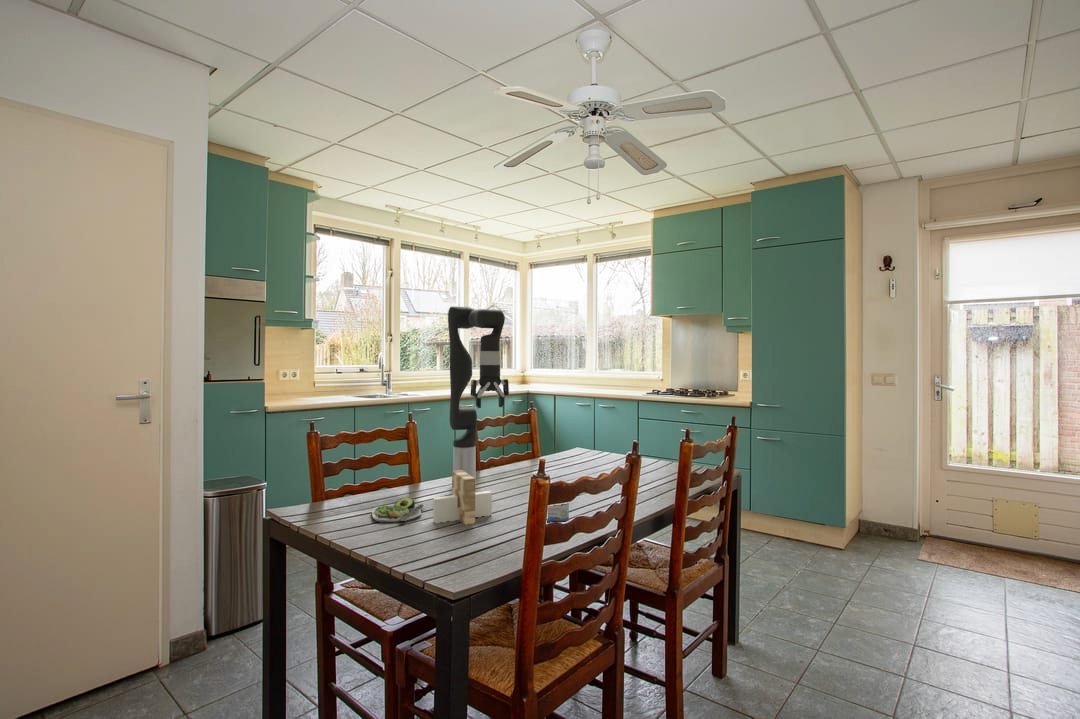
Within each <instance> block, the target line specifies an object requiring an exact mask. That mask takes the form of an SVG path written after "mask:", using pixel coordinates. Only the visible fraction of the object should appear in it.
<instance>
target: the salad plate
mask: <svg viewBox="0 0 1080 719" xmlns="http://www.w3.org/2000/svg"><path fill="white" fill-rule="evenodd" d="M395 502H396V503H394V504H392V505H388V504H386V505H385V504H383V505H378V506H376V507H374V508H372V509H371V516H372V518H373V520H374V521H376V522H378V521H379V522H378V523H382V522H394V523H398V522H397V521H405V522H408V521H412V520H414V519H417V518H419V517H420V516H421V515H422V508H423V507H424V506H425V505H424V504H419V505H418V504H416V503H415V499H413V498H412V497H402V498H399V499H398V500H397V501H395ZM377 516H378V517H381V516H390V517H391V518H395V519H391V518H390V517H389V518H390V519H385V518H377ZM411 519H412V520H411ZM407 520H408V521H407Z"/></svg>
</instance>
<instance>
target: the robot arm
mask: <svg viewBox="0 0 1080 719" xmlns="http://www.w3.org/2000/svg"><path fill="white" fill-rule="evenodd" d="M505 317H506V316H505V314H504V311H502V310H501V309H490V308H478V309H477V308H476V309H475V308H474V307H470V306H460V305H458V306H457V305H456V306H454V305H453V306H450V307H449V308H448V312H447V326H448V335H449V337H448V338H449V381H450V382H449V383H450V400H449V425H450V428H451V430H453V431H460V430H461V431H465V430H466V431H465V433H463V434H462V435H460V436H458V437H457V436H456V437H455V438H454V439H453V442H452V444H453V445H452V446H453V449H452V450H453V451H452V452H453V453H452V454H453V457H452V458H453V459H452V460H453V462H452V464H453V465H452V466H453V469H452V471H456V470H463V471H464V472H466V473H467V474H469V475H470V476H472V477H474V478H475V482H476V481H477V480H476V478H477V477H476V461H477V460H476V456H477V455H476V454H477V453H476V450H477V449H476V448H477V447H476V445H477V444H476V442H477V427H478V426H477V424H478V414H477V410H476V408H477V409H481V408H482V398H481V397H482V395H483V394H485V392H490V391H491V392H496V393H497V395H498V407H499V408H503V406H504V405H505V397H506V396H509V394H510V389H509V388H510V387H509V379H508V378H503V379H501V362H502V360H501V352H500V351H501V350H500V349H501V348H500V347H501V345H500V344H501V343H500V342H501V336H502V332H503V328H504V325H505V322H506V321H505V319H506V318H505ZM474 327H475V328H479V329H492V331H491V333H488V334H484V335H481V337H480V354H479V379H472V377H473V359H472V357H471V355H470V353H469V351H468V350H467V349H466V347H465V345H464V344H463V341H462V340H461V336H460V333H459V329H460V330H461V329H465V330H467V329H472V328H474ZM469 383H470V396H471V397H474V398H475V407H476V408H475V407H474V406H469V407H468V406H466V407H460V401H461V398H462V395H463V393H464V391H465V389H466V387H468V385H469ZM478 384H479V386H480V387H479V388H478V390H477V386H478ZM500 385H502V389H501V387H500Z"/></svg>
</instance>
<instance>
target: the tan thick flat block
mask: <svg viewBox="0 0 1080 719" xmlns="http://www.w3.org/2000/svg"><path fill="white" fill-rule="evenodd" d="M475 493H476V481H475V478H474V477H472V476H470V475H469V474H467V473H466V472H464V471H463V470H456V471H453V470H452V471H451V496H452V495H456V496H457V497H458V507H459V508H460V520H459V521H460V522H461V523H462V524H463V525H464V524H465V525H464V526H468V525H467V524H470V525H475V524H476V518H475ZM474 523H475V524H474Z"/></svg>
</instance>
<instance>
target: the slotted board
mask: <svg viewBox="0 0 1080 719" xmlns="http://www.w3.org/2000/svg"><path fill="white" fill-rule="evenodd" d="M492 495H493V494H492V491H491V490H484V491H477V492H476V491H475V517H478V518H483V517H482V516H485V517H491V516H490V515H492V513H493V512H492V511H493V510H492V509H493V503H492V501H493V500H492V499H493V496H492ZM432 499H433V500H432V502H433V503H432V507H433V508H432V513H433V514H432V519H433V520H432V521H434V522H435V523H436V524H441V523H440V522H443V523H448V522H447V521H450V522H456V521H455V520H457V521H460V508H459V507H458V497H457V496H456V495H452V494H451V495H445V496H437V497H433V498H432ZM434 522H433V523H434ZM435 523H434V524H435Z"/></svg>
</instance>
